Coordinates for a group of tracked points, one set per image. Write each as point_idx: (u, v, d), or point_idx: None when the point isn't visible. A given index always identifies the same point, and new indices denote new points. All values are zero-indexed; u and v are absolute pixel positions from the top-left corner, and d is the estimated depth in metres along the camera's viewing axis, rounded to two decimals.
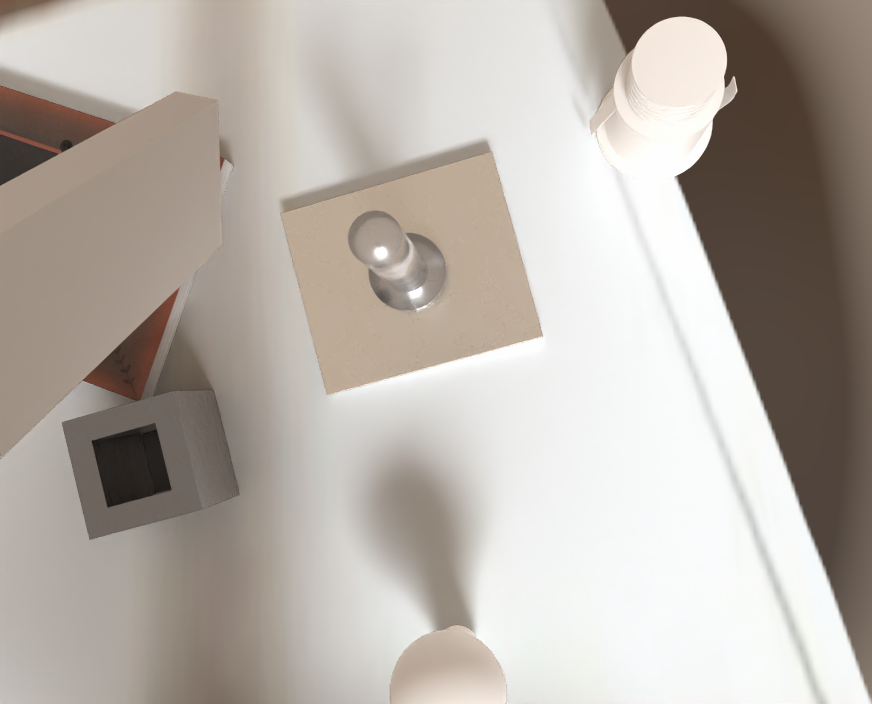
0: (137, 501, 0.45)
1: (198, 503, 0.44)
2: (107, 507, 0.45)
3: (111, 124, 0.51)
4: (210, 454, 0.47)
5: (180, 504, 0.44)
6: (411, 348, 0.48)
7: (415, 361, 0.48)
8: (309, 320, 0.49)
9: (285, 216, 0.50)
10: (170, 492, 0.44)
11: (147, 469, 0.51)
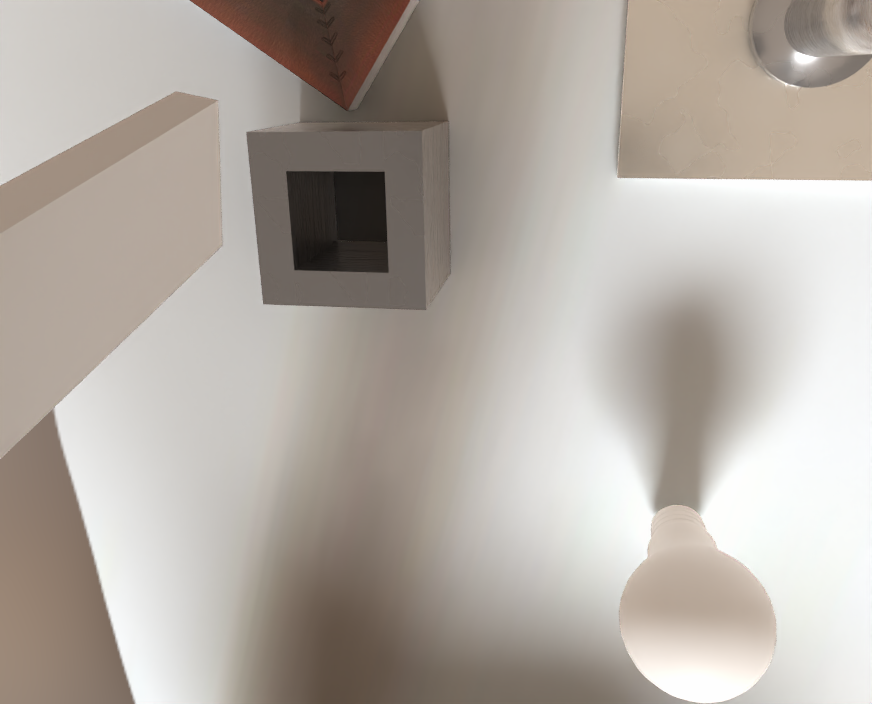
0: (337, 273, 0.32)
1: (422, 300, 0.31)
2: (294, 269, 0.32)
3: None
4: (438, 223, 0.33)
5: (397, 294, 0.31)
6: (769, 144, 0.32)
7: (767, 165, 0.32)
8: (628, 56, 0.31)
9: None
10: (386, 275, 0.31)
11: (334, 207, 0.37)
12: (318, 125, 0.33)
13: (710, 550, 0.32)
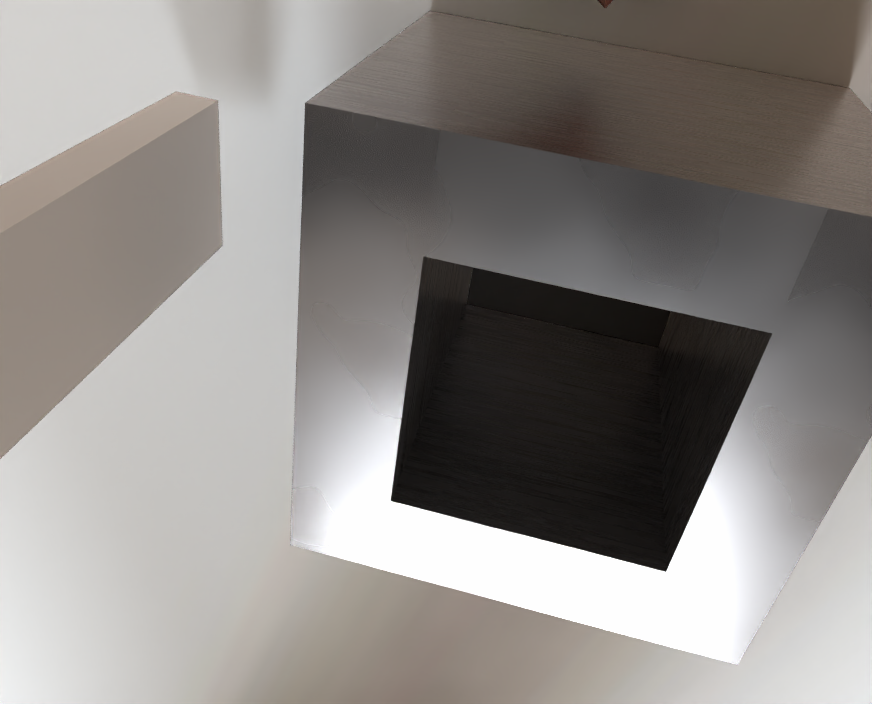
0: (513, 537, 0.11)
1: (737, 646, 0.11)
2: (389, 496, 0.11)
3: None
4: None
5: (669, 617, 0.11)
6: None
7: None
8: None
9: None
10: (657, 575, 0.11)
11: None
12: (509, 59, 0.11)
13: None
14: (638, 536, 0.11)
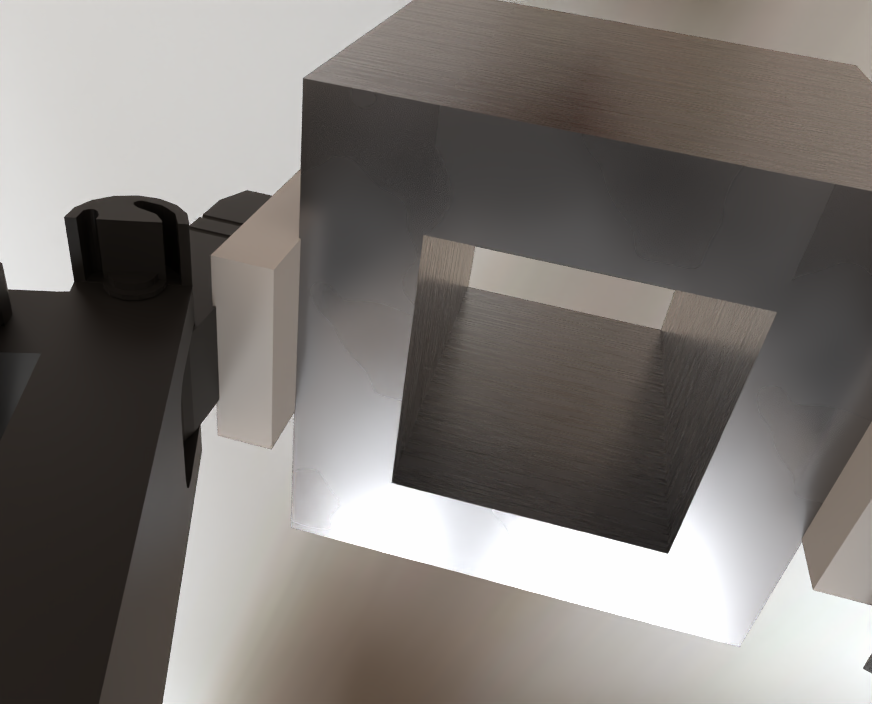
0: (515, 519, 0.11)
1: (739, 628, 0.11)
2: (390, 479, 0.11)
3: None
4: None
5: (671, 600, 0.11)
6: None
7: None
8: None
9: None
10: (659, 557, 0.11)
11: None
12: (510, 36, 0.11)
13: None
14: (640, 518, 0.11)
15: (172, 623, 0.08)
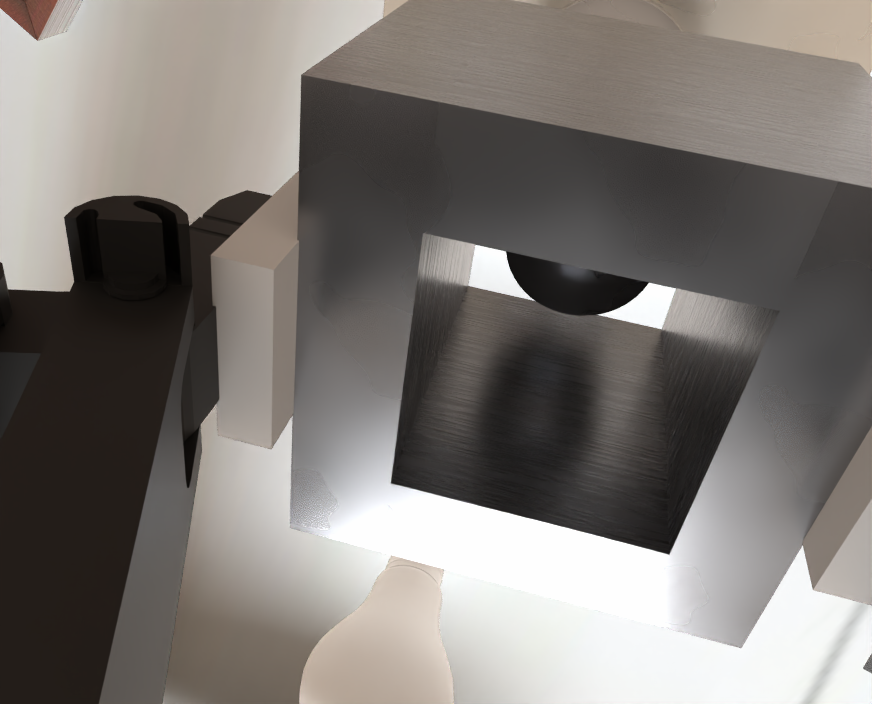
0: (515, 520, 0.11)
1: (741, 629, 0.11)
2: (389, 479, 0.11)
3: None
4: None
5: (672, 601, 0.11)
6: None
7: None
8: None
9: None
10: (660, 558, 0.11)
11: None
12: (510, 33, 0.11)
13: (400, 632, 0.30)
14: (641, 518, 0.11)
15: (172, 623, 0.08)
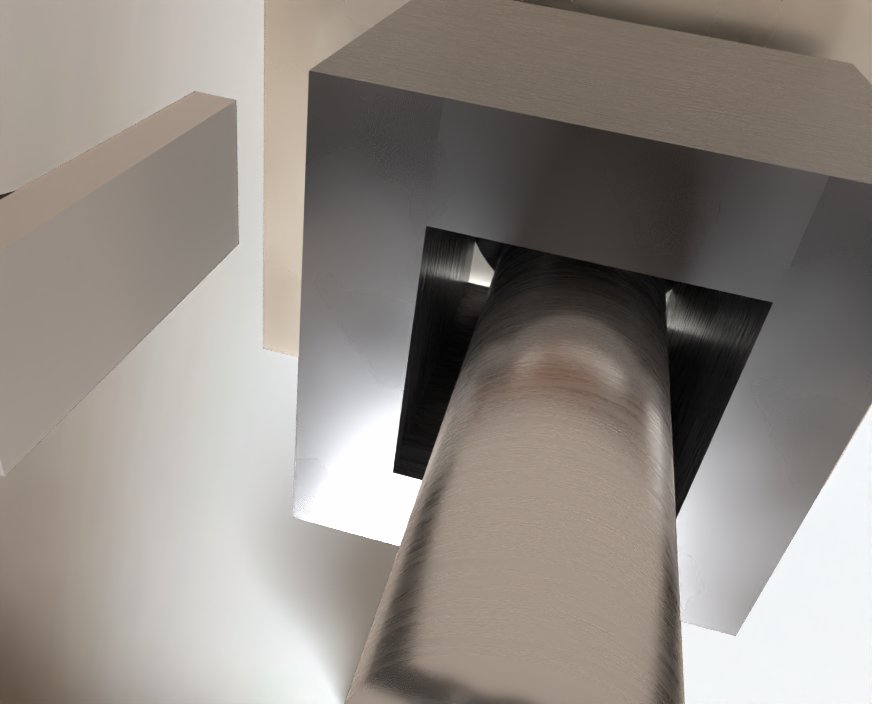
0: None
1: (735, 617, 0.11)
2: (391, 468, 0.11)
3: None
4: None
5: None
6: None
7: None
8: (267, 170, 0.17)
9: None
10: None
11: None
12: (512, 32, 0.11)
13: None
14: None
15: None
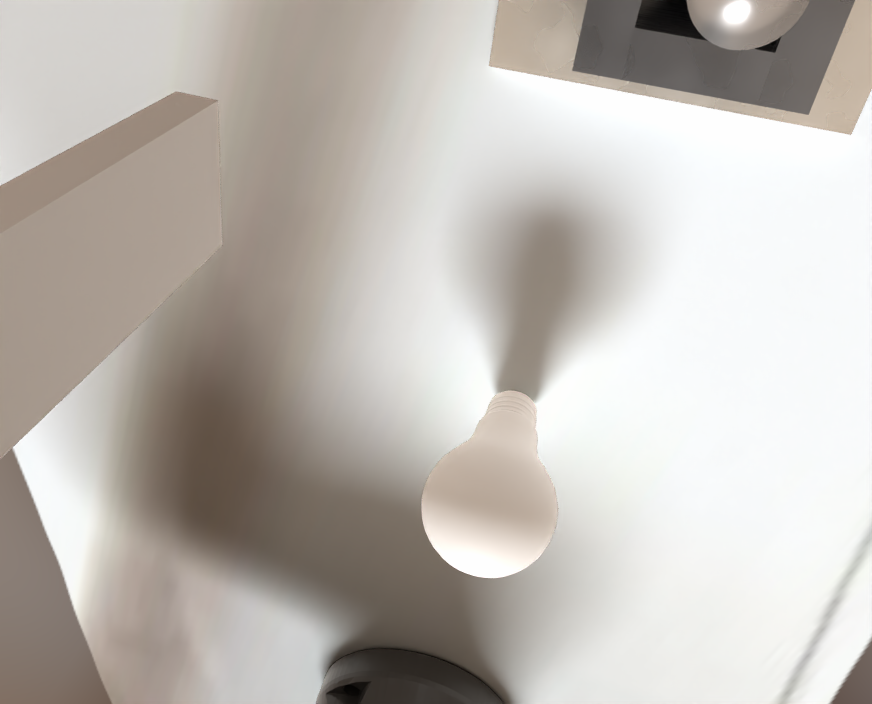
0: (697, 42, 0.22)
1: (809, 100, 0.22)
2: (633, 26, 0.22)
3: None
4: None
5: (774, 86, 0.22)
6: None
7: None
8: None
9: None
10: (770, 55, 0.22)
11: None
12: None
13: (512, 450, 0.34)
14: None
15: None
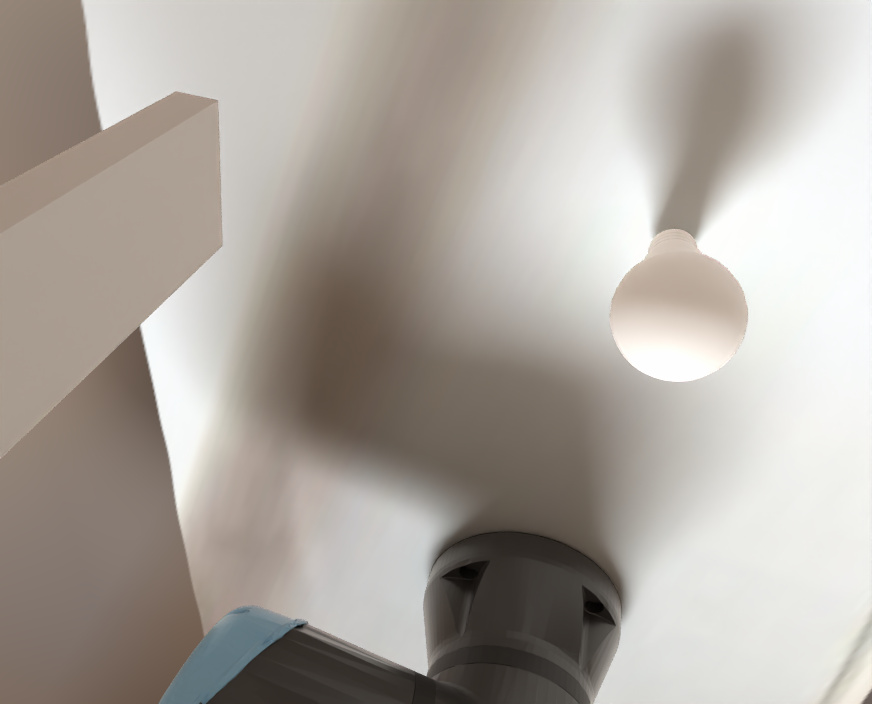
0: None
1: None
2: None
3: None
4: None
5: None
6: None
7: None
8: None
9: None
10: None
11: None
12: None
13: (705, 255, 0.35)
14: None
15: None
